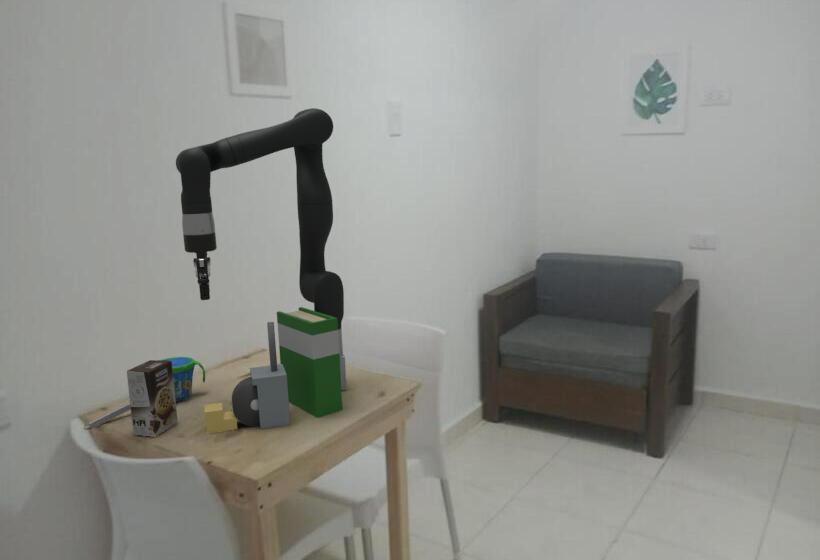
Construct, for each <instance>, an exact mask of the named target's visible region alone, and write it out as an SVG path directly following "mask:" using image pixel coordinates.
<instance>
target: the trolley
mask: <svg viewBox="0 0 820 560" xmlns="http://www.w3.org/2000/svg"><path fill="white" fill-rule="evenodd" d="M266 324H267V326H266V327H267V328H266V329H267V340H268V350H269V352H268V353H269V365H264V366H255V367H249V372H250V373H249V374H250V376H249V377H245V378H244V379H242V380H240V381H239V382H238V383H237V384H236V386H235V387H234V389H233V391H232V392H231V393H232V394H231V406H232V411H233V412H234V415H235V417H236V419H237V420H238V422H240V423H241V424H243V425H244V426H248V427H259V428H260V430H263V429H270V428H276V427H284V426H290V425H291V418H290V417H291V414H290V403H289V400H288V386H287V374H286V372H285V369H284V366H283V364H278V359H277V358H278V356H277V347H276V345H277V344H276V333H275V330H276V329H275V322H274V321H268V322H267V323H266Z"/></svg>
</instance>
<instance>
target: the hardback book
mask: <svg viewBox="0 0 820 560" xmlns="http://www.w3.org/2000/svg"><path fill="white" fill-rule="evenodd" d="M276 322H277V335H278V346H279V348H278V349H279V359H280V364H283V366H284V369H285V372H286V374H287V386H288V400H289V404H291V405H293V406H295V407H297V408H298V409H301V410H302V411H304V412H305V413H308V414H310V415H312V416H313V417H315V418H317V419H319V418H322V417H324V416H327V415H332V414H333V413H337V412H338V413H339V412H340V411H343V410H344V409H343V394H342V391H343V390H341V372H340V355H339V337H338V320H337V318H335V317H332V316H329V315H326V314H322V313H319V312H316V311H314V309H313V310H312V309H309V308H307V307H303V306H300V307H298V310H294V311H291V312H283V311H280V310H278V311H276Z"/></svg>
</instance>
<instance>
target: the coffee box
mask: <svg viewBox="0 0 820 560" xmlns="http://www.w3.org/2000/svg"><path fill="white" fill-rule="evenodd" d="M126 377H127V378H126V379H127V386H128V387H127V388H128V394H129V395H128V396H129V403H130V406H131V410H130V413H131V415H130V417H131V423H132V434H136V435H135V436H137V435H143V436H142V437H146V436H151V437H150V438H156V437H155V436H157V437H159V434H160V433H161V434H163V433H164V432H166V431H168V430H169V429H171V428H172V427H174V426H175V425H177V424H178V423H179V421H178V413H177V412H178V410H177V403H176V402H177V401H176V400H175V390H174V381H173V371H172V361H166V360H163V359H160V360H159V359H157V360H155V359H154V360H152V359H150V360H148V361H145V362H143V363H141V364H139V365H136V366H134V367H133V368H129V369H128V370H126ZM173 425H174V426H173ZM170 427H171V428H170ZM168 428H169V429H168ZM165 430H166V431H165ZM162 432H163V433H162ZM161 434H160V435H161Z"/></svg>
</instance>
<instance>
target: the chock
mask: <svg viewBox="0 0 820 560" xmlns="http://www.w3.org/2000/svg"><path fill="white" fill-rule="evenodd" d="M204 418H205V429H206V434H207V433H211V434H215V433H214V432H218V433H220V432H219V431H225V432H227V431H226V430H232V431H235V430H234V429H237V430H238V421H237V420H238V419H237V418H236V417H235V415H234V412H233V410H232V411H225V412H224V411H223V403H222V402H218V403H210V404H205V405H204Z"/></svg>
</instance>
